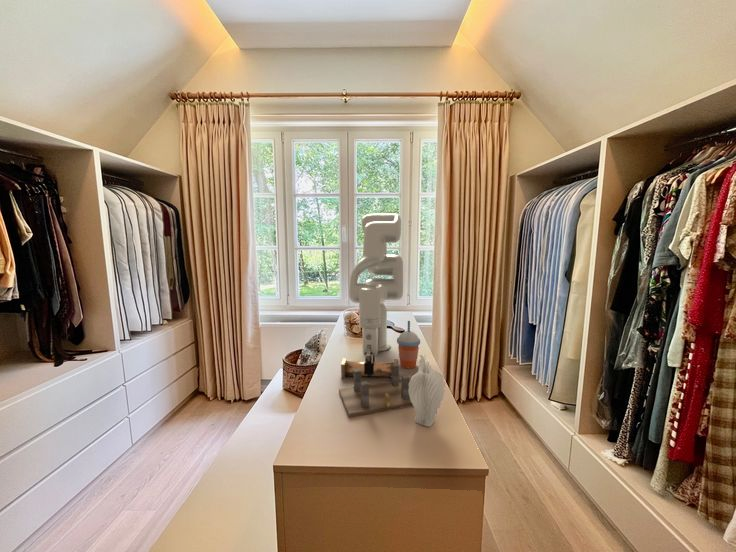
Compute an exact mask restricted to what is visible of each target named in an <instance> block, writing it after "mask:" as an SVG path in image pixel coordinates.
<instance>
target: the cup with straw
mask: <svg viewBox="0 0 736 552" xmlns="http://www.w3.org/2000/svg"><path fill="white" fill-rule="evenodd" d="M396 343H397V344H398V346H397V347H398V349H397V350H398V358H399V366H401V367H402V368H403V369H413V368H416V366H417V361H418V356H419V345H420V344H421V339H420V338H419V336H418V334H417V333H416V332H414V331H411V321H410V320H407V330H406V331H403V332H401V333H400V335H399V336H398V337H397V339H396Z"/></svg>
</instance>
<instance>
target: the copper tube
mask: <svg viewBox="0 0 736 552" xmlns="http://www.w3.org/2000/svg"><path fill="white" fill-rule="evenodd" d="M393 360H394V361H375V362H373V363H374V374H364V363H365V361H360V360H359V361H356V360H355V361H354V360H353V361H350V360H349V361H348V360H347V357H342V361H341V365H340V370H341V371H340V374H341V375H340V376H341V379H340V380H345V379H346V376H347V377H348V376H350V377H352V376H353V377H354V369H360V370H361V377H384V378H385V377H387V378H389V377H390V378H391V364H396V363H397V364H398V365H399V361H398V360H399V359H397V358H394V359H393Z"/></svg>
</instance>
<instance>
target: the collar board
mask: <svg viewBox="0 0 736 552" xmlns="http://www.w3.org/2000/svg"><path fill="white" fill-rule="evenodd" d="M390 378H391V379H390V380H389V381H382V382H377V383H376V382H375V383H369V382H368V380H365V381H364V380H363V381H362V376H361V370H360V369H354V376H353V386H350V387H343V388H339V389H338V394H339V395H340V398H341V401H342V404H343V406H344V408H345V412H346V413H347V417H348V418H353V417H359V416H364V415H370V414H371V415H372V414H376V413H381V412H387V411H391V410H397V409H402V408H408V407H414V406H413V404H412V402H411V400H410V396H409V392H408V389H409V385H408V384H409V382H410V380H411V377H410V376H409V375H408V374H405V375H401V379H400V364H399V363H398V364H397V363H396V364H391V377H390Z"/></svg>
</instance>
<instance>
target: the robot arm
mask: <svg viewBox="0 0 736 552" xmlns="http://www.w3.org/2000/svg"><path fill="white" fill-rule="evenodd" d="M361 227H362V232H363V247H362V248H363V249H362V251H363V252H362V257H361V260H359V261H358V262H357V263H356V265H355V266H354V268H353V269H352V271H351V274H350V278H349V287H348V289H349V290H348V296H349V299H350V300H349V301H350V302H352V303H354V304H358V306H359V307H358V316H359V317H358V326H359V328H361V329H362V353H363V354H362V355H363V356H364V362H365V363H364V374H374V363H373V362H376V361H375V357H377V356H378V353H379V352H384V351H387V350H389V349H390V348H391V344H390V342H388V340H387V338H388V336H387V334H388V332H387V330H388V328H387V327H388V321H387V318H388V310H387V309H388V308H387V306H386V305H385V304H384V303H385V302H386V301H399V300H401V299H402V298H403V296H404V263H403V262H404V261H403V258H402V257H401V256H400V255H399V254H388V253H387V251H388V250H387V248H388V247H387V245H388V244H389V243H391V244H393V243H398V242H399V241H400V239H401V234H402V218H401V216H400V215H399V214H398V213H369V214H368V213H367V214H366V215H364V216H362V217H361ZM387 243H388V244H387ZM366 270H367V271H368V274H369V275H372V276H379V277H380V276H383V277H385V276H387V277H389V276H390V277H392V278H381V277H380V278H379V277H378V278H369V279H367V280H365V282H364V283H358V280H359V277H360V276H361V274H362V273H363V272H365V271H366Z"/></svg>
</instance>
